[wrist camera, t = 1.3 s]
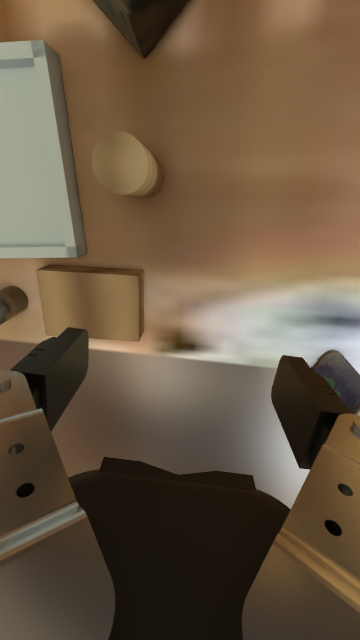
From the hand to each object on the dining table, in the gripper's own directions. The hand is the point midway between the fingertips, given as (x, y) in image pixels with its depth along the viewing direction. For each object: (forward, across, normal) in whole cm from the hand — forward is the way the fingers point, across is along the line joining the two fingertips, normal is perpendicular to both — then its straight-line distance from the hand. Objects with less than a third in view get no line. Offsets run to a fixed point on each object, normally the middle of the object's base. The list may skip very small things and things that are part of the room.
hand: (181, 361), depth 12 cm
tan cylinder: (+19, +5, -8) cm, 21 cm away
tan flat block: (+20, +9, +4) cm, 22 cm away
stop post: (+20, +19, +6) cm, 28 cm away
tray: (+19, +17, -7) cm, 27 cm away
